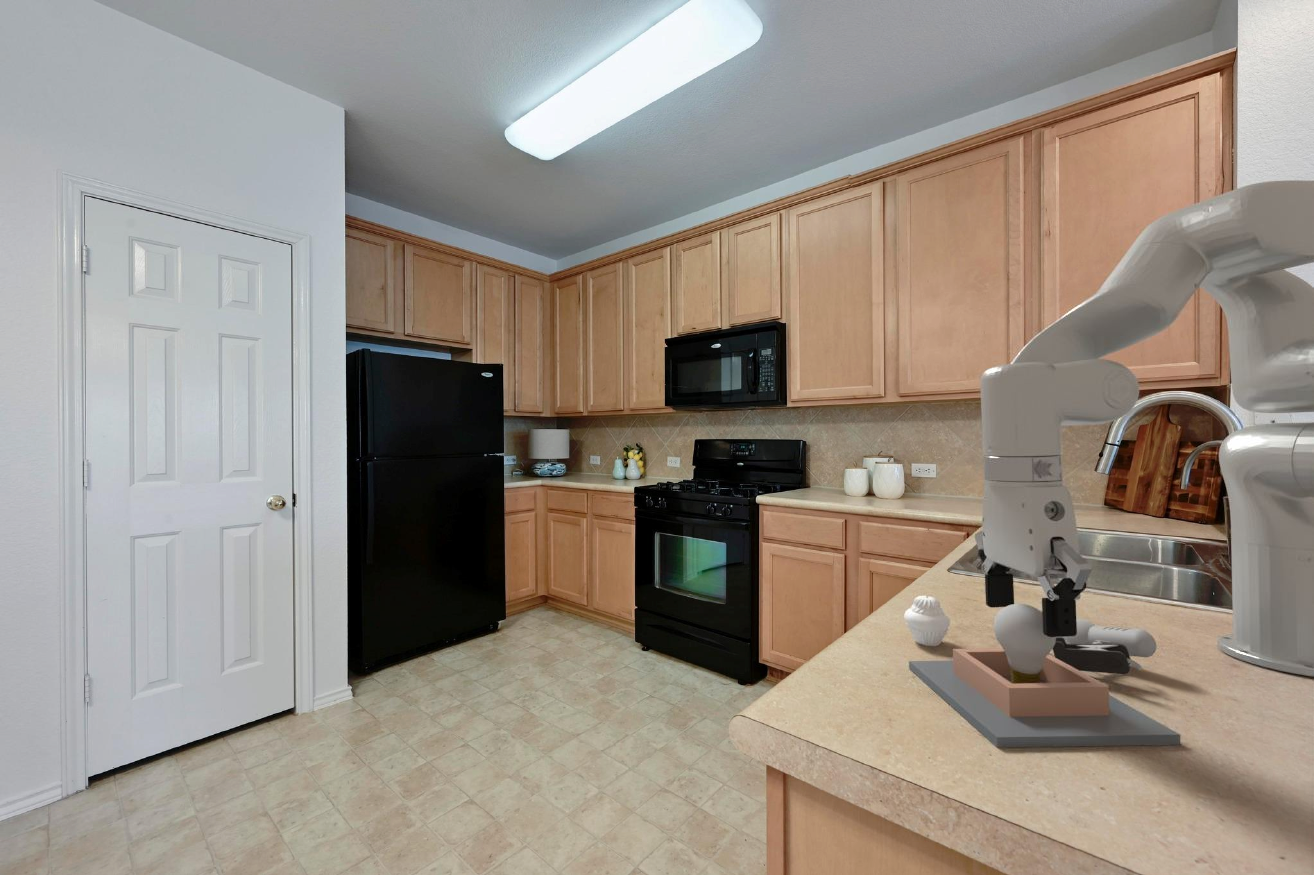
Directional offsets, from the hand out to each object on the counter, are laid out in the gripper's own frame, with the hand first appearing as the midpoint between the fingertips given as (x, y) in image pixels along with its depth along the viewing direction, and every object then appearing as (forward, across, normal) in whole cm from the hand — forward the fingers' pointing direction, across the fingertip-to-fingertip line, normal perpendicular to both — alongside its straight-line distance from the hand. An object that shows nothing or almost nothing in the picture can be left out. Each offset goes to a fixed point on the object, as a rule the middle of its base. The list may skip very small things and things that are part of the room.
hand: (1027, 619), depth 61 cm
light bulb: (+8, 0, +1) cm, 8 cm away
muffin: (+10, +18, +3) cm, 20 cm away
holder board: (+9, 0, +1) cm, 9 cm away
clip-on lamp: (+10, +11, -12) cm, 19 cm away
